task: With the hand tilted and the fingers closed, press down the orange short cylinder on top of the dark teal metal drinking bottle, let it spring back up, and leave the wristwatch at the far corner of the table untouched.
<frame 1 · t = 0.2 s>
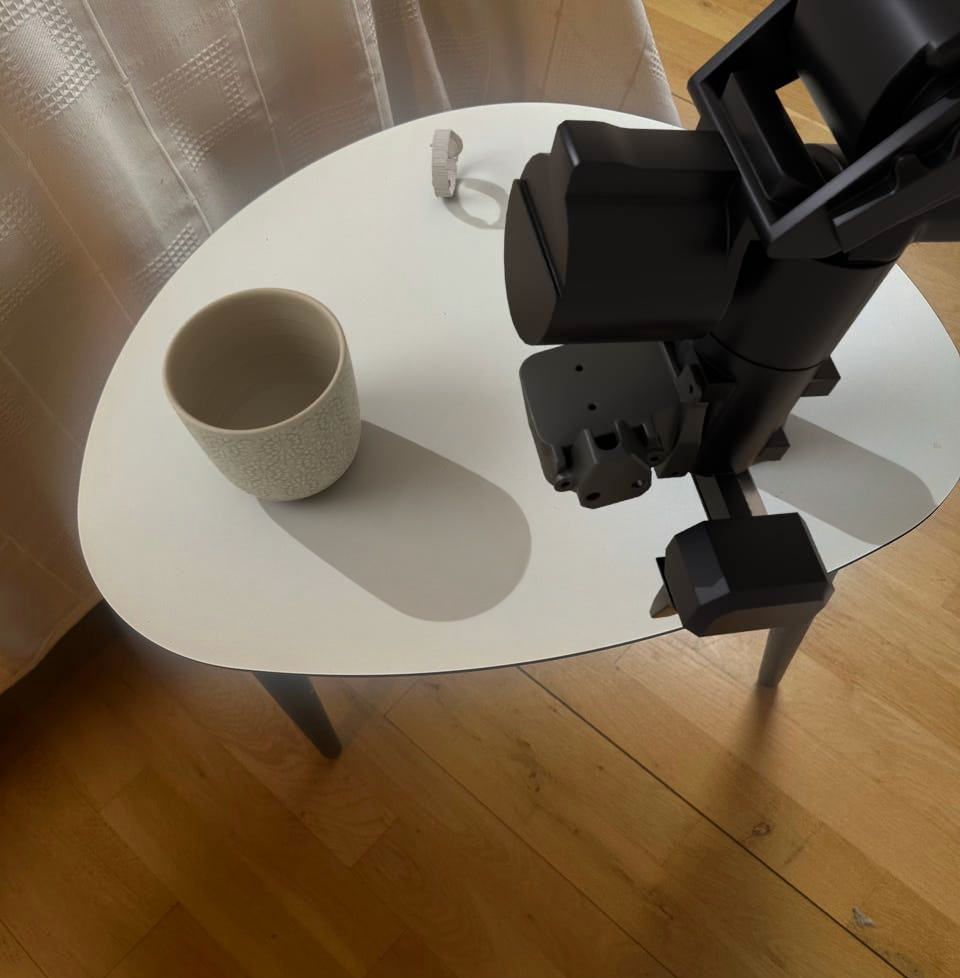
hand: (633, 539, 48), 14 cm above the table, tool pointing down, fingers open, 9 cm apart
wristwatch: (446, 190, 80), on the table
planter: (296, 456, 69), on the table
bottle: (731, 428, 67), on the table
orange short cylinder: (767, 305, 56), point 12 cm above the table, slide at 0.1 cm
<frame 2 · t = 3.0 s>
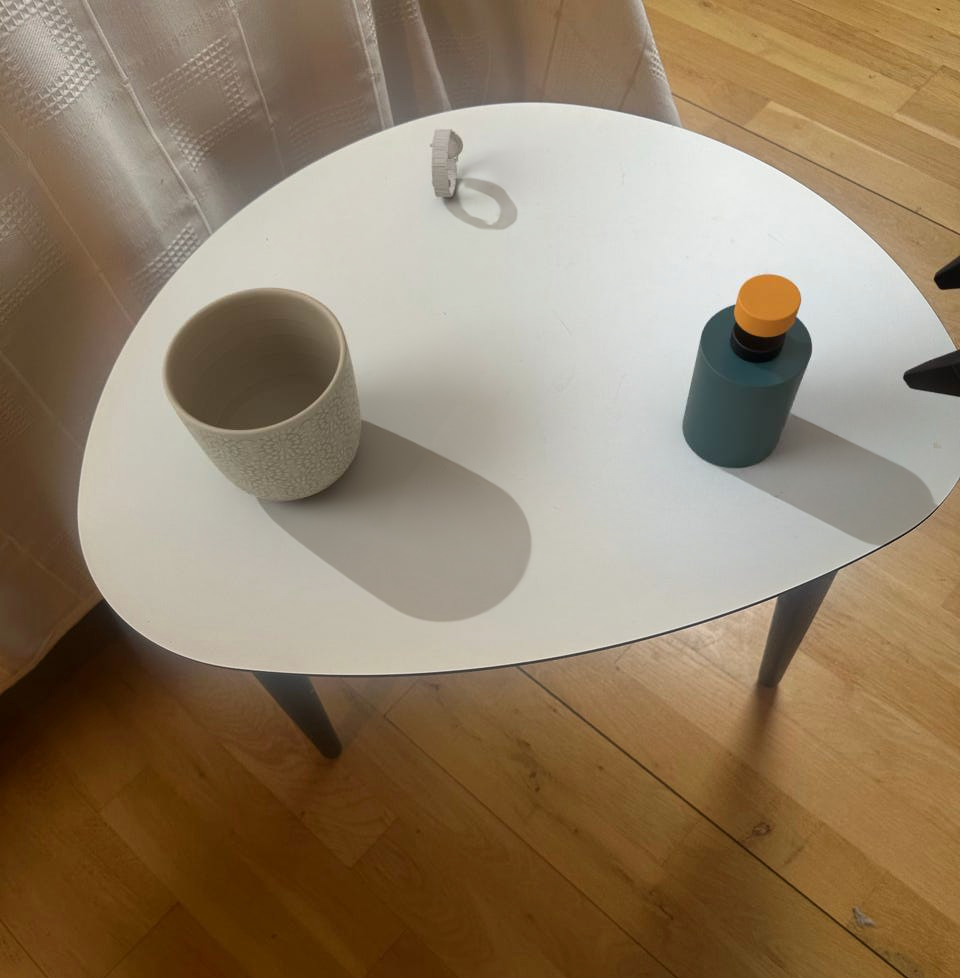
hand: (921, 330, 53), 14 cm above the table, tool tilted 45°, fingers open, 8 cm apart
nothing on the table moved.
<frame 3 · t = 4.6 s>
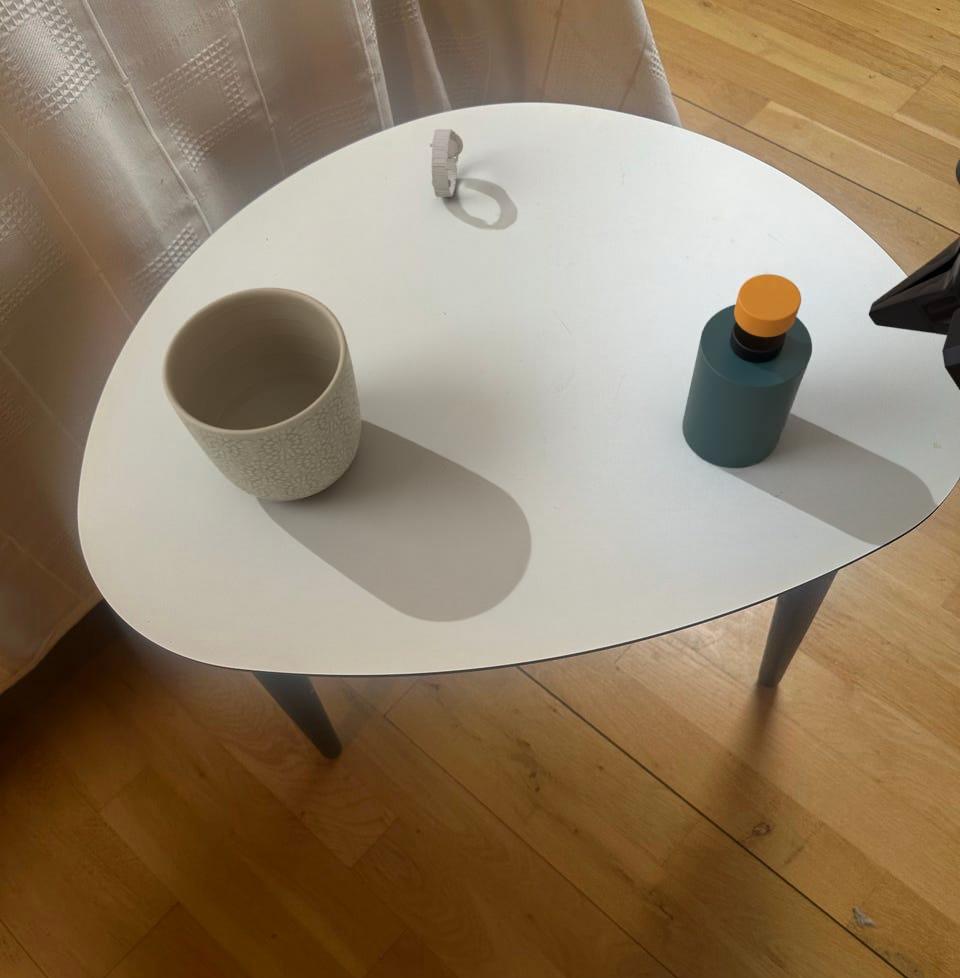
hand: (872, 315, 53), 14 cm above the table, tool tilted 45°, fingers closed
nothing on the table moved.
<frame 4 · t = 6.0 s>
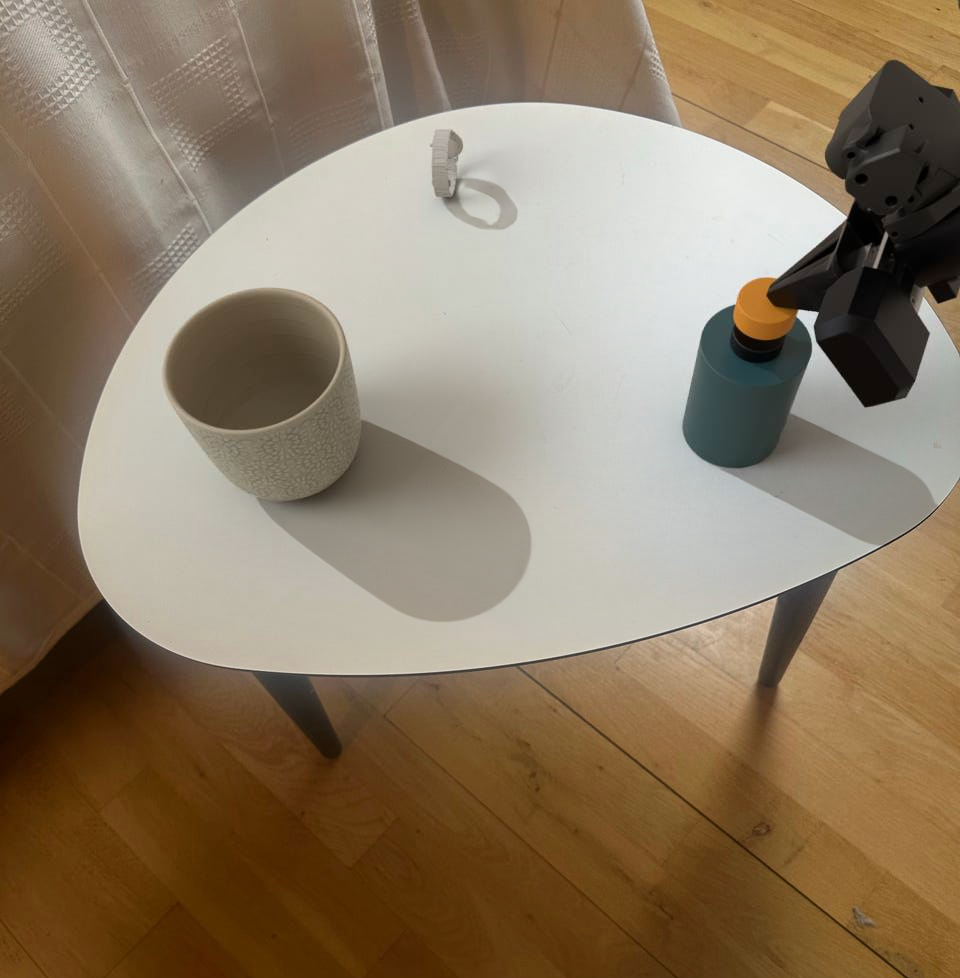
hand: (771, 296, 55), 13 cm above the table, tool tilted 45°, fingers closed, pressing on orange short cylinder
orange short cylinder: (766, 308, 56), point 12 cm above the table, slide at -0.2 cm, touching gripper
everything else where it was.
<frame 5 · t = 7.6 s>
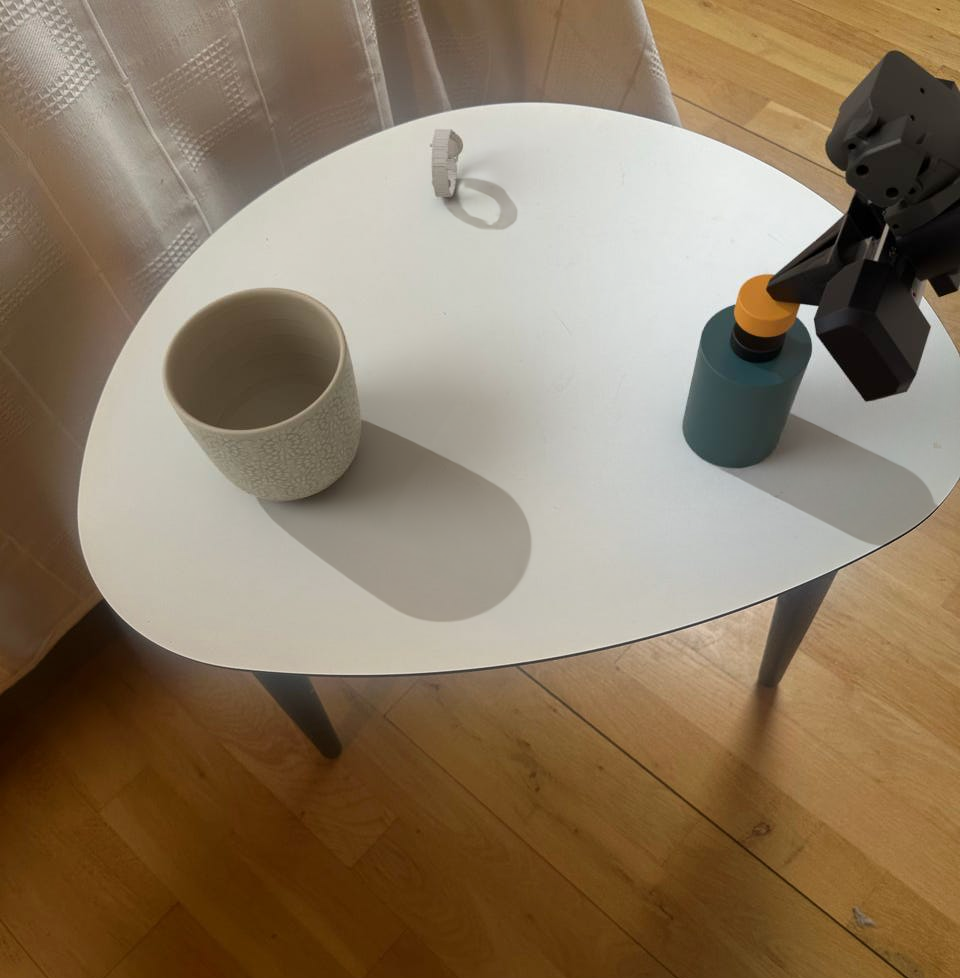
hand: (770, 290, 55), 14 cm above the table, tool tilted 45°, fingers closed
orange short cylinder: (767, 305, 56), point 12 cm above the table, slide at 0.1 cm
everything else where it was.
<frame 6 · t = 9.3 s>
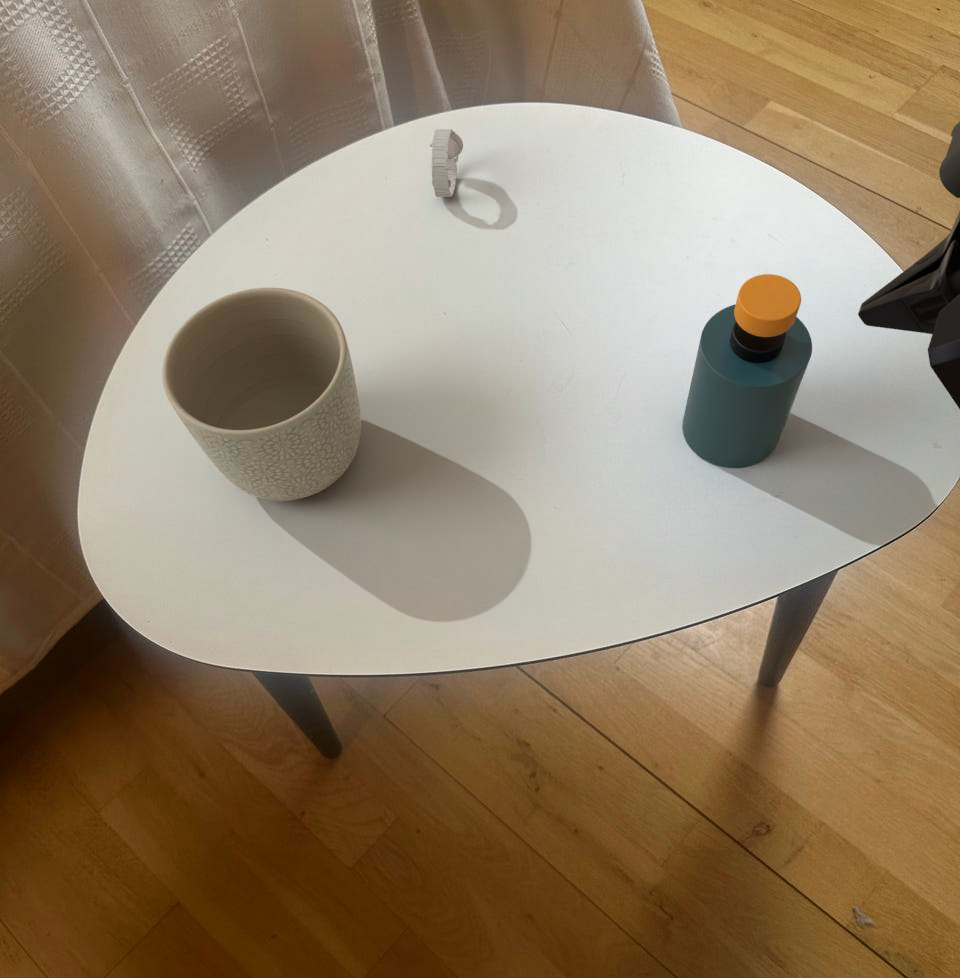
hand: (862, 315, 54), 13 cm above the table, tool tilted 45°, fingers closed
nothing on the table moved.
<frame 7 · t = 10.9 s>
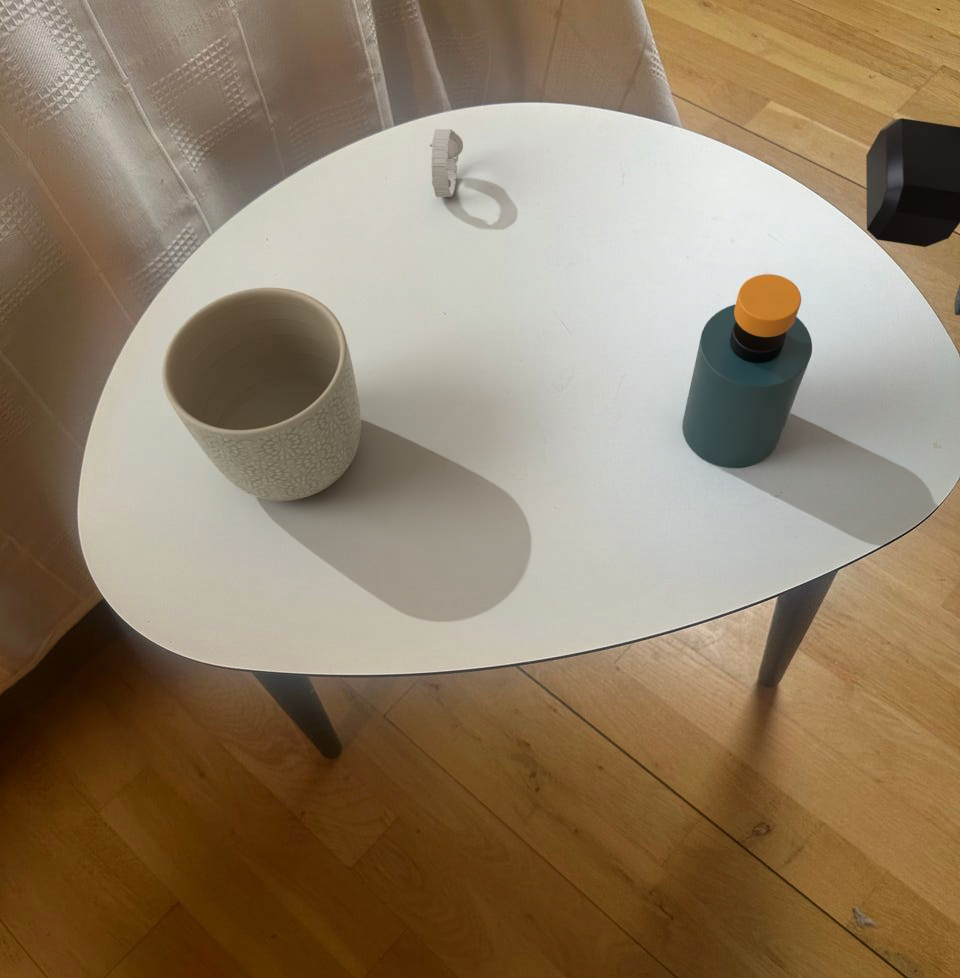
nothing on the table moved.
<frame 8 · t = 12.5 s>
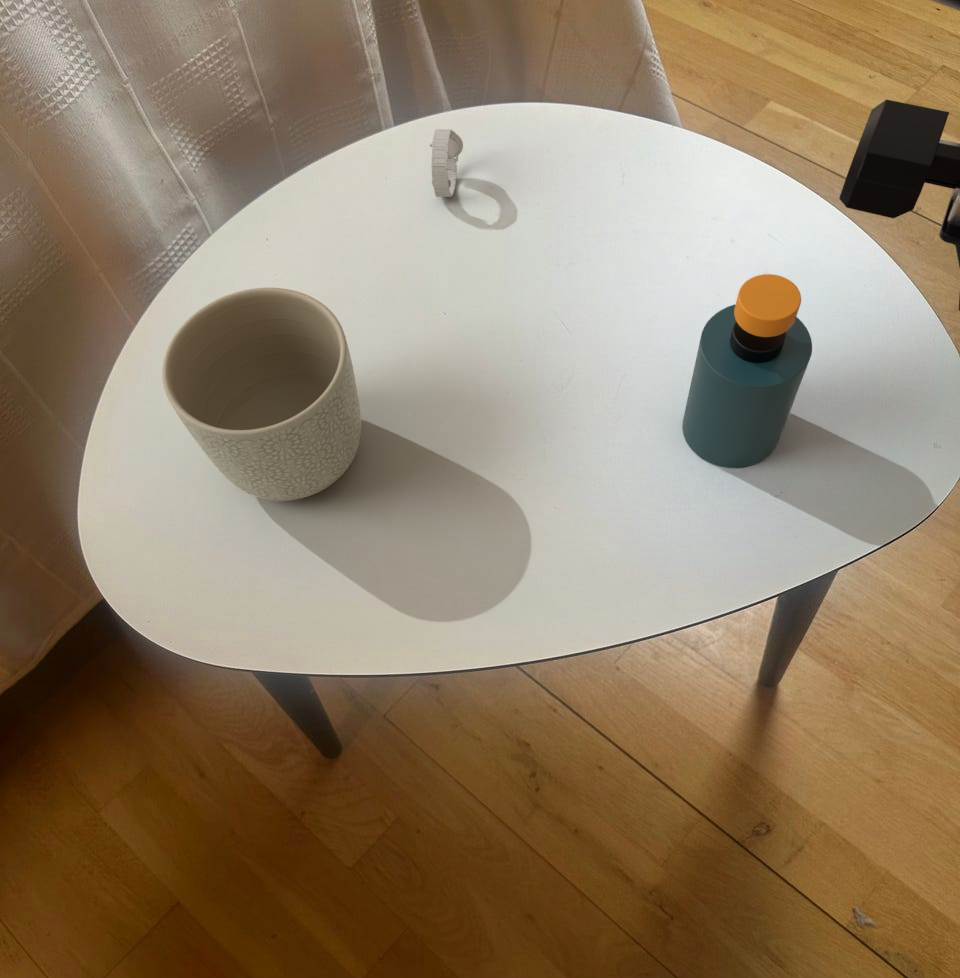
nothing on the table moved.
at the end: orange short cylinder pushed in 1.4 cm at the most during the clip, back to where it started at the end; orange short cylinder slide at 0.1 cm; wristwatch moved 0.2 cm from its start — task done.
